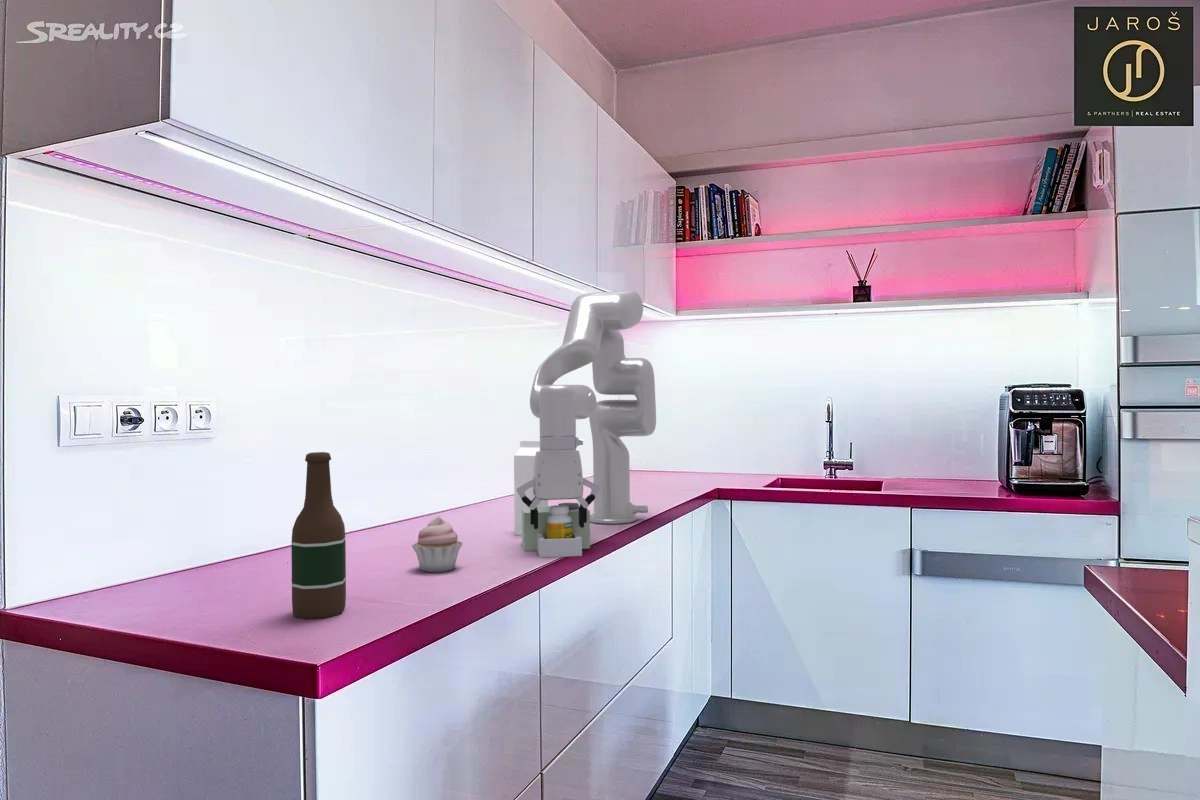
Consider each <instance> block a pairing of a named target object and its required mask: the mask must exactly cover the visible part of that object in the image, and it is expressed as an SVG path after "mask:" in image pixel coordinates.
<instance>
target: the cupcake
mask: <svg viewBox="0 0 1200 800" xmlns="http://www.w3.org/2000/svg"><path fill="white" fill-rule="evenodd" d="M417 537H418V538H417V541H416V542H415V543H414V544H411V547H412V548H413V550H414V552H415V554H416V557H417V560H418V565H419V568H420V570H421V571H423V572H426V573H443V572H448V571H452V570H454V569H455V567H456V563H457V558H458V554H459V551H460V550H461V548H462V545H463V544H464V542H463V541H460V540H458V539H459V538H458V537H459V536H458V534H457V532H456V531H455V530H454V529H453V526H452V525H451V524H450V522H448V521H447V520H445V519H443V518H442V517H440V516H439V515H437V516H436V517H434V518H433V519H431V520H430V521H429V522H428V524H427V526H425V527H423V528H421V529H420V530H419V532H418V536H417Z"/></svg>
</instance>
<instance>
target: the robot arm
mask: <svg viewBox="0 0 1200 800" xmlns="http://www.w3.org/2000/svg"><path fill="white" fill-rule="evenodd" d="M643 313H644V303H643V300H642V297H641V295H640V294H639V293H638V292H636V291H635V290H623V291H622V290H621V291H619V290H618V291H594V292H587V293H583V294H581V295H578V296H577V297H576V298H575V299H574V301H572V304H571V305H570V309H569V315H568V319H567V323H566V327H565V332H564V335H563V341H562V343H561V345H560V346H559V347H558V348H556V349H555V350H554V351H552V353H550V355H548V356H547V357H546V358H545V360H544V361H543V362H542V363H541V364H540V365H539V366H538V368H537V370H536V371H535V375H534V378H533V381H532V385H531V386H532V387H531V390H530V395H529V408H530V411H531V413H532V415H533V416H534V417H535V418H537V419H539V441H540V451H536V455H535V462H534V478H533V479H532V480H530V481H528V482H527V483H525V484H523V485H521V486H520V487H518V488H517V492H518V494H519V496H520V498H521V499H522V501H523V502H524V503H525V504H526V505H527V506H528V507H529V508H530V522H531V525H534V529H538V510H537V505H538V504H539V503H540V501H541V500H548V501H553V500H556V501H557V500H558V501H561V500H577V503H578V504H579V505H580V506H579V526H580V527H581V528H583V527H584V523H587V509H588V507H589V506H590V505H591V504H593V514H590V523H594V524H603V525H604V524H605V525H606V524H608V525H609V524H610V525H612V524H613V525H614V524H615V525H616V524H629V523H633V522H635V521H636V520H637V516H636V514H648V513H649V506H648V505H636V504H633V503H632V502H631V487H630V485H631V484H630V483H631V482H630V476H631V475H630V453H629V450H628V448H627V446H626V445H625V443H624V442H623V441H622V439H621V438H622V437H648V436H651V435H653V433H654V432H655V430H656V428H657V427H656V425H657V406H656V404H657V403H656V384H655V383H656V382H655V372H654V371H655V370H654V368H653V365H652V363H651V361H649V360H648V359H646V358H643V357H626V355H625V341H624V340H625V339H624V337H623V335H622V333H621V332H620V331H621V330H628V329H631V328H633V327H635V326H636V325H638V324H639V323H640V322H641V320H642V318H643ZM589 364H591V365H592V380H593V387H594V390H595V392H596V393H598V394H601V395H605V396H623V395H624V396H625V395H626V396H628V395H630V396H631V395H632V396H634V397H635V398H636V399H603V400H599V401H597V397H596V394H595V392H594V391H593V389H592V388H591V387H589V386H587V385H586V384H585V385H584V384H554V383H555V382H556V381H558V380H559V379H560V378H561V377H563V376H565V375H567V374H569V373H572V372H573V371H576V370H578V369H580V368H583V367H585V366H587V365H589ZM587 418H588V419H589V420H588V421H589V427H590V431H591V439H592V457H593V458H592V461H593V463H592V469H593V471H592V473H593V474H592V476H593V477H592V479H593V481H590V480H589V479H586V478H584V477H583V465H582V458H581V453H580V450H577V447H578V446H583V445H584V439H583V438H579V437H577V430H576V429H577V426H576V425H577V424H576V423H577V421H576V420H585V419H587ZM585 486H586V487H587V488H589V489H590V493H589V494H588V495H587V496H586V497H585V498H584V497H583V495H584V487H585ZM531 487H533V491H534V495H535V497H534V498H533V499H532V501H531V500H530V499H529V498H528V497H527V496H526V494H525V491H526V490H528V489H529V488H531Z"/></svg>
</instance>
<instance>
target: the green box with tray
mask: <svg viewBox="0 0 1200 800" xmlns="http://www.w3.org/2000/svg"><path fill="white" fill-rule="evenodd" d="M558 505H566V506H569V513H568V515H569V516H570V517H571V518H572V538H562V539H547V518H548V517H549V516H551V514H550V512H549V511H550V506H551V505H550V506H549V505H548V506H543V507H537V510H538V529H534V525H531V522H530V508H529V507H522V535H521V545H522V549H523V552H531V551H532V552H534V551H535V552H537V553H538V556H539V558H540V559H542V558H543V559H545V558H557V557H558V558H561V557H562V558H565V557H568V558H569V557H582V556H583V550H584V549H585V550H586V549H590V548H591V522H590V515H591V510H589V508H587V523H584V527H583V528H581V527H580V526H579V506H580V503H579V502H561V503H560V502H559V503H558Z"/></svg>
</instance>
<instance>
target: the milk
mask: <svg viewBox="0 0 1200 800" xmlns="http://www.w3.org/2000/svg"><path fill="white" fill-rule="evenodd" d="M536 451H540V440H539V441H537V440H536V441H535V440H528V441H527V440H521V441H520V442H519V448H518V449H517V451H516V452H515V453H514V455H513V479H514V481H513V483H514V484H513V486H514V487H513V488H514V490H513V491H514V496H513V497H514V501H513V502H514V504H513V505H514V506H513V507H514V509H513V510H514V535H515V536H522V507H528V506H527V505H526V504H525V503H524V502H523V501H522V499H521V498H520V496H519V494H518V492H517V488H518V487H520V486H521V485H523V484H525V483H527V482H528V481H530V480H532V479H533V478H534V462H535V455H536ZM525 494H526V496H527V497H528V498H529V499H530V500H531V501H532V499H533V498H534V497H535V495H534V491H533V487H531V488H529V489H528V490H526V491H525ZM543 506H549V500H541V501H540V503H539V504H538V505H537V507H543Z"/></svg>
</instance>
